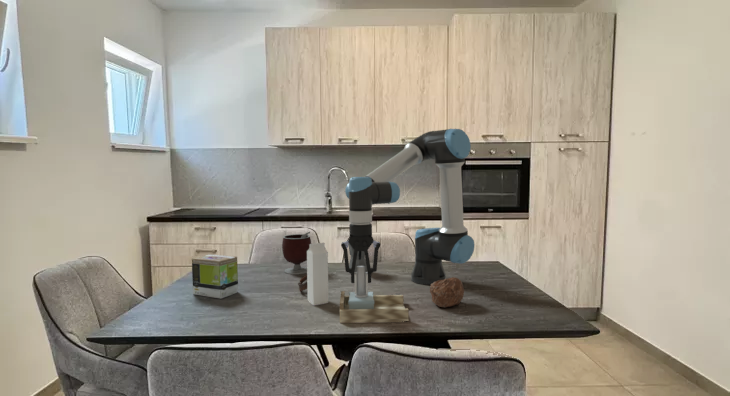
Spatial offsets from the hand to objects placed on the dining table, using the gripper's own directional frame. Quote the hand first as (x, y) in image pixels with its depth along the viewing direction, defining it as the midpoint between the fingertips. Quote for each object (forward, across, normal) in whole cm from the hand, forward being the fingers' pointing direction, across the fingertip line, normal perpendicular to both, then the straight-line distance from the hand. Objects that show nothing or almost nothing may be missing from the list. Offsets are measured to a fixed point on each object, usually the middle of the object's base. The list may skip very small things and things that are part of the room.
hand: (361, 292), depth 132 cm
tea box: (+8, +58, -25) cm, 64 cm away
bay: (+8, -4, -2) cm, 9 cm away
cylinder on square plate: (+6, 0, 0) cm, 6 cm away
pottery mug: (+8, +20, -26) cm, 34 cm away
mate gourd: (+8, +30, -58) cm, 66 cm away
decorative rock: (+8, -31, -8) cm, 33 cm away
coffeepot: (+8, +1, -54) cm, 55 cm away
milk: (+8, +16, -13) cm, 22 cm away
